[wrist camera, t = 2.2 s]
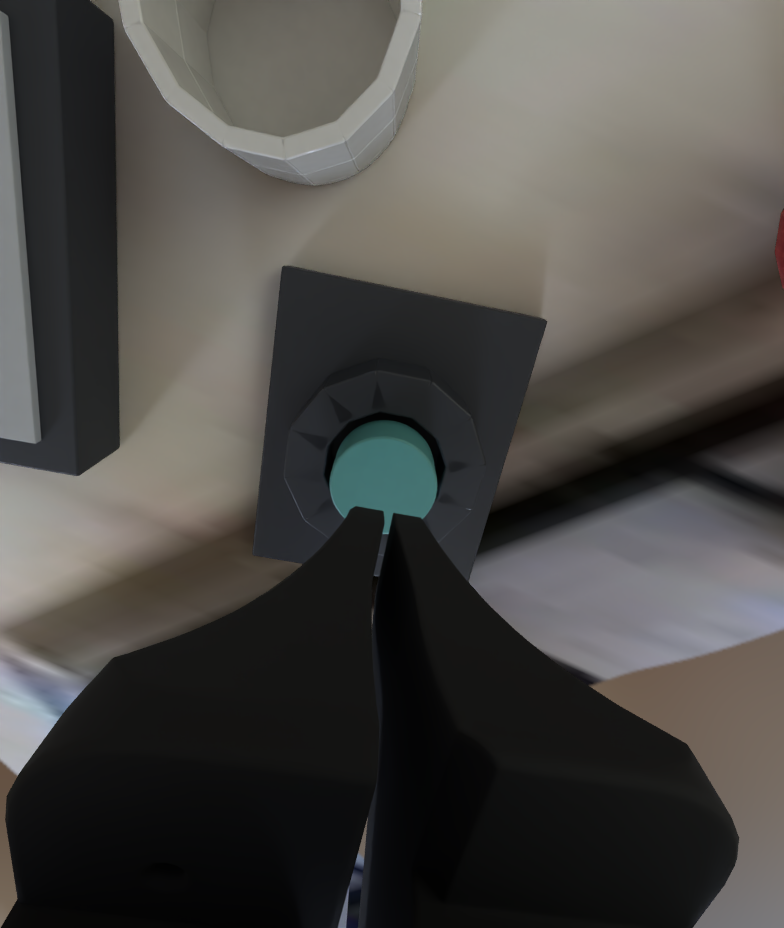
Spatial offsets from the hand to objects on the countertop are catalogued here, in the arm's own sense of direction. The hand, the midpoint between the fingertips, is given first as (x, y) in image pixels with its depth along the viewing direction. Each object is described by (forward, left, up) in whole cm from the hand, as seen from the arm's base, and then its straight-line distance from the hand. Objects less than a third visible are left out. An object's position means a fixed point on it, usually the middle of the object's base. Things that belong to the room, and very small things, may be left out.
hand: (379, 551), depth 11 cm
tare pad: (0, 0, -7) cm, 7 cm away
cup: (+10, +4, -7) cm, 13 cm away
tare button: (0, 0, -5) cm, 5 cm away
